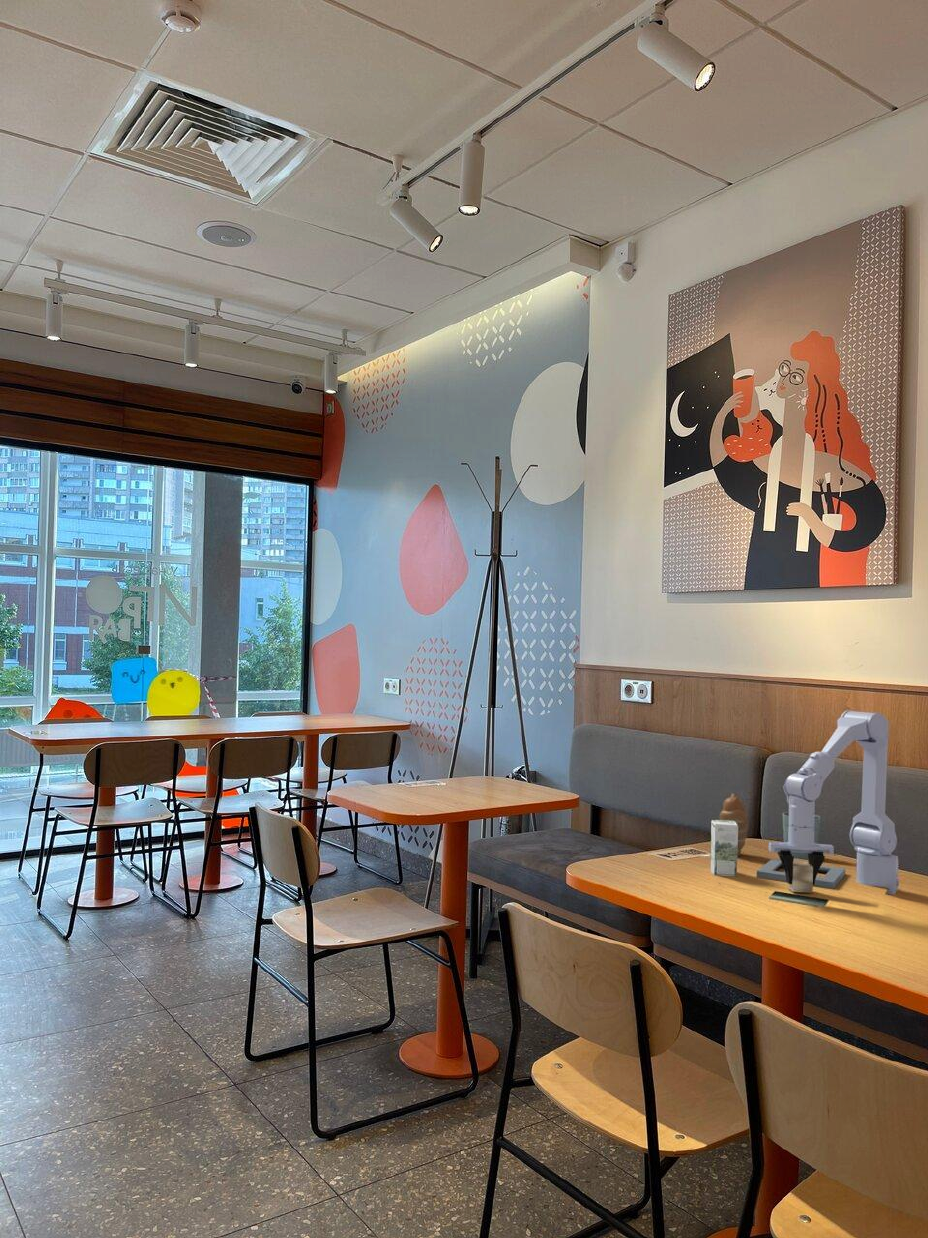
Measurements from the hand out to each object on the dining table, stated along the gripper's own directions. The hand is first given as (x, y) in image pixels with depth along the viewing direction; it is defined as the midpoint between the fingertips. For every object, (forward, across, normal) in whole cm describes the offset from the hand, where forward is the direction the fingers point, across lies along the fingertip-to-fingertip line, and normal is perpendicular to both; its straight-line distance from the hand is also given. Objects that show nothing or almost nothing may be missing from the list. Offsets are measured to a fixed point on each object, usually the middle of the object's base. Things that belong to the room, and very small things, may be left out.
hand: (800, 883), depth 214 cm
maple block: (+2, 0, 0) cm, 2 cm away
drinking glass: (+4, -14, -46) cm, 48 cm away
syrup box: (+4, +14, -16) cm, 21 cm away
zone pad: (+3, 0, 0) cm, 3 cm away
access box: (+3, -5, -16) cm, 18 cm away
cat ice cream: (+4, +6, -39) cm, 39 cm away
